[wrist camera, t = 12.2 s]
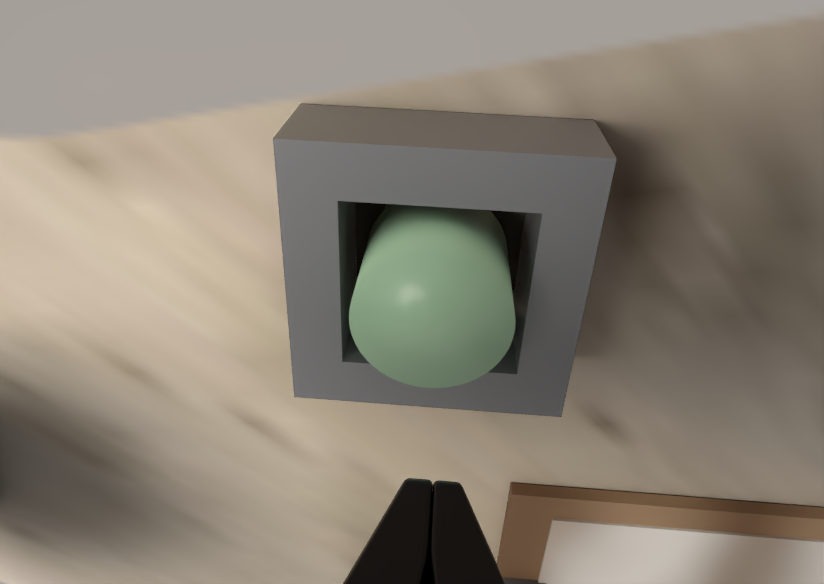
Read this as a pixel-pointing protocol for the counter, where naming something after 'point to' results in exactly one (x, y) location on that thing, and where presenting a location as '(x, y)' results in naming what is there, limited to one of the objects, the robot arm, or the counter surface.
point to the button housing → (451, 188)
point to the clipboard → (656, 539)
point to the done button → (434, 296)
